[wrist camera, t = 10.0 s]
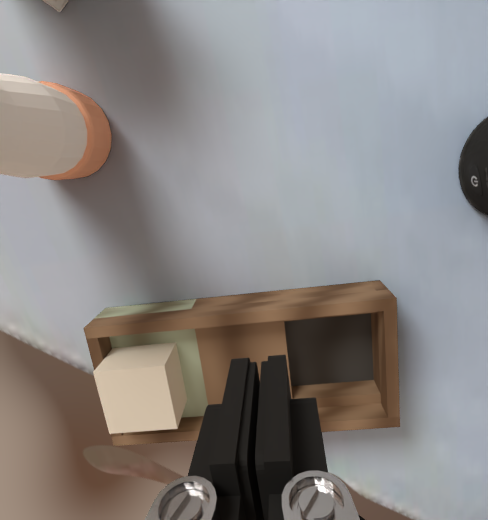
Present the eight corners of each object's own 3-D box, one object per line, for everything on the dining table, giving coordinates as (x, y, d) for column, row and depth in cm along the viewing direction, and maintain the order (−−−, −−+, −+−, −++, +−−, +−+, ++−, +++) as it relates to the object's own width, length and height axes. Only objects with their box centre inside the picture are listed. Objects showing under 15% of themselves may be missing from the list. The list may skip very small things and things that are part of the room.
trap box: (379, 280, 33) (396, 297, 29) (383, 395, 36) (399, 426, 32) (105, 308, 36) (83, 328, 31) (130, 413, 39) (113, 445, 34)
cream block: (176, 342, 33) (164, 365, 30) (187, 399, 35) (177, 428, 31) (112, 348, 34) (93, 372, 30) (126, 404, 36) (109, 433, 32)
